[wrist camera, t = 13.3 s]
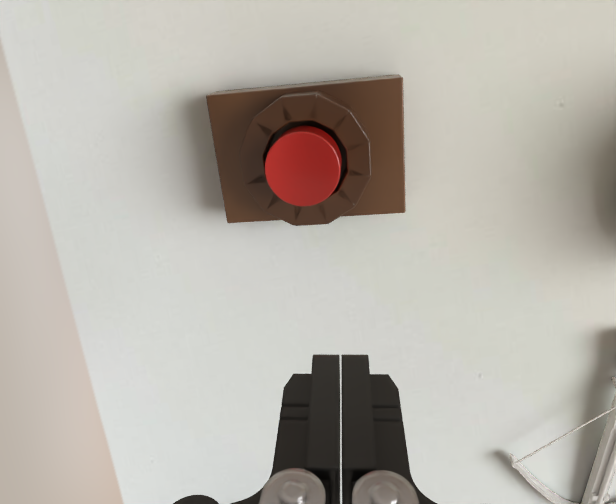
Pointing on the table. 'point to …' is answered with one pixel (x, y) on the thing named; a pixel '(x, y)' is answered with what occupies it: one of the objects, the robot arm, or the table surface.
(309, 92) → the button block
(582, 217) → the table surface
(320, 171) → the button
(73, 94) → the table surface
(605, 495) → the crossbow
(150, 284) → the table surface
